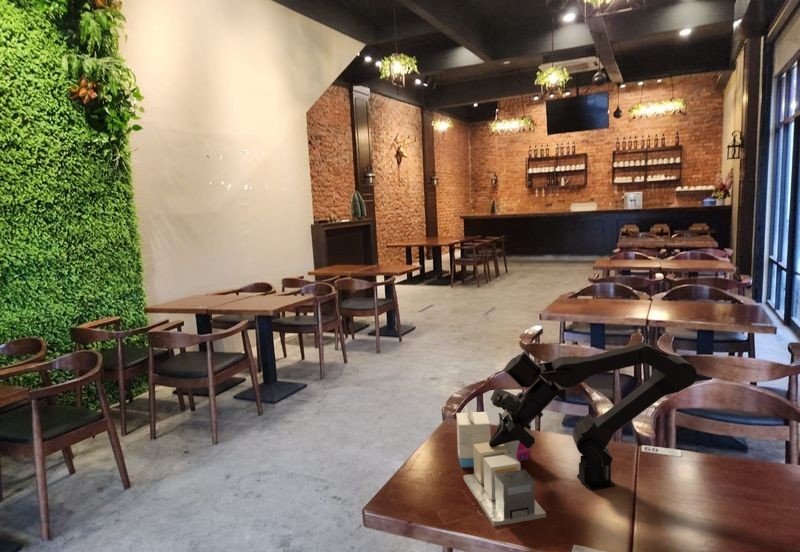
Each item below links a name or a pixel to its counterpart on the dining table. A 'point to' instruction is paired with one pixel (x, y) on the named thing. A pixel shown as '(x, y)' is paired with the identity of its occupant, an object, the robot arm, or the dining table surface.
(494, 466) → the block
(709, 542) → the dining table surface
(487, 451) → the block
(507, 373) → the robot arm
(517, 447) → the supplement box
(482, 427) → the ink box
